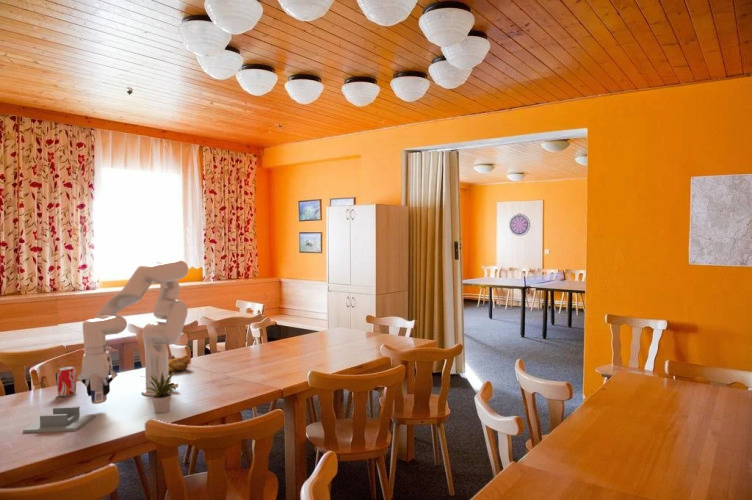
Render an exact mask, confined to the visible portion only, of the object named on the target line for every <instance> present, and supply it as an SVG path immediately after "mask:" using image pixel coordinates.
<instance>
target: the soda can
mask: <svg viewBox="0 0 752 500" xmlns="http://www.w3.org/2000/svg"><path fill="white" fill-rule="evenodd" d="M56 376H57V379H56V381H57V383H56V384H57V385H56V387H57V395H58V396H60V397H63V398H65V397H71V396H73V395H74V394H75V393H76V392H77V371H76V369H75V366H72V365H71V366H70V365H69V366H62V367H59V368H58V370H57V375H56Z"/></svg>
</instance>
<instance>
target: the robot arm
mask: <svg viewBox="0 0 752 500" xmlns="http://www.w3.org/2000/svg"><path fill="white" fill-rule="evenodd" d="M188 272H189V266H188V264H187V263H186V262H185V261H184V260H178V259H163V260H159V261H157V262H156V263H144V264H141V265H139V266H138V267H137V268H136V269H135V271H134V272H133V274H132V275H131V276H130V278H129V280H128V281H127V282H126V284H125V285H124V287H123V288H122V289H121V290H120V291H119V292H118V293H116V294H114V295H113V296H112V297H111V298H109V299H108V300H107V301H106V302H105V303H104V304H103V305H102V306H101V307H100V308H99V310H98V311H97V312H96V314H95V316H94V318H89V319H86V320H85V321H83V322H82V335H83V347H84V350H83V351H84V354H83V356H82V362H81V372H80V373H79V375H78V376H76V380H77V379H78V381H80V382H81V383H82V384H83V385H84V386H85V387H86V393H87V397H91V388H90V376H91V375H92V374H97V375H98V376H99V378H101V379H102V380H103V382H104V386H103V390H104V395H107V396H108V394H110V391H111V386H110V384H111V383H112V381H114V379H115V378H116V377H117V376H118V373H117V372H116V371H115V370H114V369H113V363H112V358H111V357H112V356H111V354H110V349H111V348H110V346H108V345H107V343H106V342H107V341H106V340H107V339H106V336H108V335H109V336H111V335H118V334H120V333H123V331H125V330H126V328H127V327H128V322H127V320H126V319H125V318H124V317H123V316H121V315H117V314H119V312H121V311H122V310H124V309H125V308H127V307H129V306H132V305H135V304H137V303H139V302H141V300H142V299H143V297H144V296H145V294H146V292H147V291H148V290H149V288H150V286H151V285H152V284H157V285H158V284H160V288H159V291H158V295H157V298H156V301H155V304H154V307H153V316H154V317H155V318H156V319H159V320H163V321H151V322H148V323H147V324H146V325H145V326H144V327H143V329H142V333H141V336H142V339H143V340H142V341H143V344H144V345H143V346H144V356H145V358H144V359H145V360H144V361H145V362H144V363H145V369H144V370H145V388H143V389H142V390H141V394H142V395H144V396H153V395H155V392H154V391H153V390H151V389H146V388H148V387H151V388H153V389H154V390H156V389H157V390H158V388H156V389H155V388H154V386H153V385H152V384H151V383H150V382H153V383H154V385H155V387H157V386H156V384H155V382H154V381H153V380H150V379H152V378H151V377H152V376H153V377H154V378H155V376H156V378H157V381H158V383H159V382H160V383H161V374H163V376H164V377H165V378H164V380H165V381H166V379H168V377H169V376H170V375H169V374H170V373H169V370H168V360H169V350H168V346H171V345H174V344H176V343H177V342H178V341H179V339H180V337H181V336H182V332H183V329H184V327H185V323H186V320H187V317H188V311H189V310H188V306H187V303H186V302H185V301H183V300H181V299H179V295H180V291H181V290H180V283H179V281H178V280H181V279H184V278H185V277H186V276H187V275H188ZM164 320H165V322H164ZM162 371H163V373H162ZM153 374H154V375H155V376H154V375H153ZM150 375H151V377H150ZM148 378H149V379H148ZM156 378H155V380H156ZM170 383H174V385H172V386H171V387H175V388H176V389H177V388H178V387H179V383H178V382H176V383H175V382H173V381H172V378H171V379H170V380H169V383H168V384H170ZM164 385H165V382H164ZM163 387H164V386H163ZM171 387H170V389H171V391H168V393H171V392H172V391H173V389H172V388H171ZM148 390H149V391H148ZM150 390H151V391H150ZM158 393H159V392H158Z"/></svg>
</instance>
